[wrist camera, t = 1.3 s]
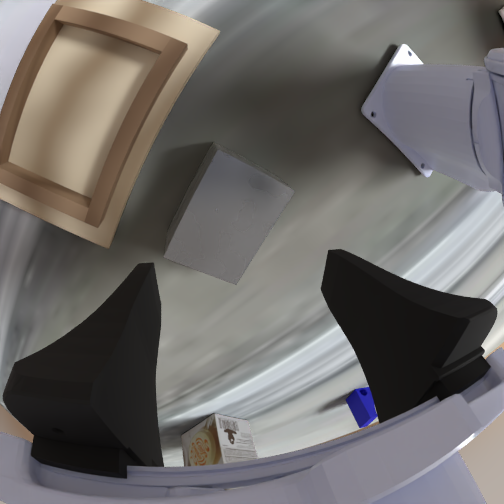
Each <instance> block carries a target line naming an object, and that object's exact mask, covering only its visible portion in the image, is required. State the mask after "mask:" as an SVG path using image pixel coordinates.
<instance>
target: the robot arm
mask: <svg viewBox="0 0 504 504" xmlns="http://www.w3.org/2000/svg"><path fill="white" fill-rule="evenodd" d="M407 52H408V53H409V56H408V54H407ZM484 63H485V66H486V67H483V66H472V65H454V64H423V63H422V62H421V61H420V59H419V58H418V57H417V56H416V55H415V54H414V53H413V51H412V50H411V49H410V48H409V47H408V46H407V45H406V44H400V45H399V46H398V48H397V50H396V51H395V53H394V55H393V56H392V58H391V60H390V61H389V63H388V65H387V66H386V68H385V70H384V71H383V73H382V75H381V76H380V78H379V80H378V81H377V83H376V84H375V86H374V88H373V89H372V91H371V93H370V94H369V96H368V98H367V99H366V101H365V102H364V104H363V106H362V108H361V111H362V114H363V115H364V116H365V117H366V118H367V119H368V120H370V121H371V122H372V123H373V124H374V125H375V126H376V127H377V128H378V129H379V130H380V131H381V132H382V133H383V134H385V135H386V136H387V137H388V138H389V139H390V140H391V141H392V142H393V143H394V144H395V145H396V146H397V147H398V148H399V150H400V151H401V152H402V153H403V154H404V155H405V156H406V157H407V158H408V159H409V160H410V161H411V162H412V163H413V164H414V166H415V167H416V168H417V169H418V170H419V171H420V172H421V173H422V175H423V176H425V177H429V176H430V175H431V173H432V171H433V170H435V171H437V172H440V173H442V174H444V175H447V176H449V177H451V178H453V179H456V180H458V181H460V182H462V183H464V184H466V185H469V186H471V187H473V188H475V189H477V190H480V191H485V192H491V191H497V192H499V193H501V194H502V201H503V205H504V48H495V49H491V50H490V51H489V53H488V54H487V56H486V57H485V58H484ZM371 112H373V114H374V115H373V117H372V116H371ZM421 164H422V166H421ZM321 291H322V293H323V296H324V298H325V301H326V303H327V305H328V307H329V309H330V311H331V312H332V314H333V316H334V317H335V319H336V321H337V322H338V324H339V326H340V327H341V329H342V330H343V332H344V334H345V335H346V337H347V339H348V340H349V342H350V344H351V345H352V347H353V349H354V351H355V353H356V355H357V357H358V360H359V362H360V364H361V367H362V369H363V372H364V374H365V377H366V380H367V382H368V385H369V388H370V391H371V394H372V397H373V400H374V404H375V407H376V411H377V415H378V419H379V424H378V425H375V426H373V427H370V428H367V429H365V430H362V431H360V432H357V433H354V434H351V435H349V436H346V437H343V438H340V439H336V440H333V441H330V442H327V443H324V444H320V445H317V446H313V447H309V448H306V449H302V450H298V451H294V452H289V453H285V454H280V455H276V456H271V457H265V458H260V459H254V460H248V461H241V462H233V463H225V464H215V465H203V466H185V467H164V463H163V457H162V451H161V444H160V436H159V428H158V417H157V403H156V365H157V356H158V347H159V338H160V330H161V301H160V296H159V290H158V285H157V279H156V274H155V268H154V263H140V264H138V265H137V266H136V267H135V268H134V270H133V271H132V272H131V273H130V274H129V275H128V277H127V278H126V279H125V280H124V281H123V282H122V284H121V285H120V286H119V287H118V288H117V289H116V290H115V291H114V293H113V294H112V295H111V296H110V297H109V298H108V299H107V300H106V301H105V302H104V303H103V304H102V305H101V306H100V307H99V308H98V309H97V310H96V311H95V312H94V313H92V314H91V315H90V316H89V317H88V318H87V319H86V320H84V321H83V322H82V323H81V324H79V325H78V326H77V327H75V328H74V329H72V330H71V331H70V332H68V333H67V334H66V335H64V336H63V337H61V338H60V339H58V340H57V341H55V342H54V343H52V344H50V345H49V346H47V347H45V348H43V349H42V350H40V351H38V352H36V353H34V354H32V355H30V356H28V357H26V358H24V359H21V360H19V361H17V362H15V364H14V366H13V368H12V371H11V374H10V376H9V379H8V382H7V384H6V387H5V390H4V393H3V401H4V403H5V405H6V407H7V409H8V410H9V411H10V412H11V414H12V415H13V416H14V417H15V418H16V419H17V420H18V421H19V422H20V423H21V424H22V425H23V426H24V427H26V428H27V429H28V430H29V431H30V432H31V433H32V434H33V435H34V438H33V443H31V442H29V441H27V440H25V439H23V438H20V437H17V436H13V435H10V434H7V433H4V432H0V500H1V501H3V502H5V503H7V504H487V503H486V501H485V499H484V497H483V495H482V494H481V492H480V490H479V488H478V486H477V484H476V482H475V480H474V479H473V477H472V475H471V473H470V471H469V470H468V468H467V466H466V464H465V462H464V461H463V459H462V457H461V456H460V454H459V452H458V450H460V449H461V448H462V447H464V446H465V445H466V444H468V443H469V442H470V441H471V440H472V439H473V438H475V437H476V436H477V435H478V434H479V433H481V432H482V431H483V430H484V429H485V428H486V427H487V426H488V425H490V424H491V423H492V422H493V421H494V420H495V419H496V418H497V417H498V416H499V415H500V414H501V413H502V412H503V411H504V350H503V349H502V348H499V349H497V350H496V351H495V352H493V353H492V354H491V355H490V356H488V357H487V358H486V360H485V359H484V357H483V356H482V355H483V354H484V352H485V351H484V349H483V348H482V347H481V345H482V343H483V342H484V340H485V338H486V337H487V335H488V333H489V332H490V330H491V328H492V327H493V325H494V323H495V320H496V318H497V308H496V307H495V306H494V305H493V304H492V303H491V302H490V301H488V300H486V299H480V298H471V297H463V296H458V295H453V294H449V293H445V292H441V291H437V290H434V289H430V288H427V287H424V286H421V285H419V284H416V283H413V282H411V281H408V280H406V279H403V278H401V277H399V276H397V275H394V274H392V273H390V272H388V271H386V270H384V269H382V268H380V267H378V266H376V265H374V264H372V263H370V262H368V261H366V260H364V259H362V258H360V257H358V256H356V255H354V254H352V253H349V252H347V251H345V250H342V249H336V250H328V254H327V260H326V265H325V270H324V276H323V281H322V286H321ZM245 486H246V487H245ZM238 487H241V488H238ZM230 488H236V489H231V490H224V489H230Z"/></svg>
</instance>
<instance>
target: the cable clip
mask: <svg viewBox="0 0 504 504" xmlns="http://www.w3.org/2000/svg"><path fill="white" fill-rule="evenodd" d="M346 402H347V404H348V406H349V408H350V410H351V412H352V414H353V416H354V418H355V420H356V422H357V424H358V426H359V428H362V427H366V426H368V425H369V424H370V423H371V422H372V421H373V420H374V419H375V418H376V417H377V414H376V411H375V406H374V400H373V397H372V394H371V391H370V388H369V387H366V388H359V389H355V390H354V391H353V392H352V393H351V395H350V396H349V397H348V398H347V399H346Z"/></svg>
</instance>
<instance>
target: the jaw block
mask: <svg viewBox="0 0 504 504" xmlns="http://www.w3.org/2000/svg"><path fill="white" fill-rule="evenodd" d="M294 192H295V191H294V190H293V189H292V188H291V187H290V186H288V185H287V184H286V183H285V182H284V181H282V180H281V179H280V178H279V177H278V176H276V175H274V174H273V173H271V172H269V171H267V170H266V169H264V168H262V167H260V166H258V165H256V164H255V163H253V162H251V161H249V160H247V159H245V158H244V157H242V156H240V155H238V154H236V153H234V152H232V151H230V150H228V149H226V148H224V147H222V146H220V145H218V144H216V143H214V142H213V143H212V145H211V147H210V148H209V150H208V152H207V154H206V156H205V157H204V159H203V161H202V163H201V165H200V167H199V169H198V170H197V172H196V174H195V176H194V178H193V180H192V182H191V184H190V186H189V188H188V190H187V192H186V194H185V196H184V198H183V200H182V202H181V204H180V206H179V208H178V210H177V212H176V214H175V216H174V218H173V220H172V222H171V224H170V227H169V229H168V231H167V237H166V244H165V250H164V258H166V259H169V260H172V261H174V262H177V263H179V264H182V265H184V266H187V267H190V268H192V269H195V270H197V271H200V272H203V273H205V274H208V275H211V276H213V277H216V278H219V279H221V280H224V281H227V282H229V283H232V284H235V285H236V284H237V283H238V281H239V280H240V278H241V277H242V275H243V273H244V272H245V270H246V269H247V267H248V265H249V264H250V262H251V261H252V259H253V257H254V256H255V254H256V253H257V251H258V250H259V248H260V246H261V245H262V243H263V242H264V240H265V238H266V237H267V235H268V234H269V232H270V230H271V229H272V227H273V226H274V224H275V222H276V221H277V219H278V218H279V216H280V214H281V213H282V211H283V210H284V208H285V206H286V205H287V203H288V202H289V200H290V198H291V197H292V195H293V194H294Z"/></svg>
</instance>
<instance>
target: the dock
mask: <svg viewBox="0 0 504 504" xmlns="http://www.w3.org/2000/svg"><path fill="white" fill-rule="evenodd" d="M219 33H220V31H219V30H216V29H214V28H212V27H210V26H208V25H206V24H203V23H201V22H199V21H197V20H194V19H192V18H189V17H187V16H185V15H182V14H180V13H177V12H174V11H172V10H169V9H166V8H163V7H161V6H158V5H155V4H152V3H148V2H145V1H142V0H57V1H56V2H55V4H52V6H51V7H50V9H49V10H48V12H47V13H46V15H45V17H44V18H43V20H42V22H41V23H40V25H39V27H38V28H37V30H36V32H35V34H34V36H33V37H32V39H31V41H30V43H29V45H28V47H27V49H26V51H25V53H24V55H23V57H22V59H21V62H20V64H19V66H18V68H17V71H16V73H15V75H14V78H13V80H12V83H11V85H10V88H9V90H8V93H7V96H6V99H5V102H4V104H3V107H2V111H1V114H0V199H2V200H4V201H6V202H8V203H10V204H12V205H14V206H16V207H18V208H20V209H22V210H24V211H26V212H28V213H30V214H32V215H34V216H36V217H38V218H41V219H43V220H45V221H47V222H49V223H51V224H53V225H55V226H58V227H60V228H62V229H64V230H66V231H69V232H71V233H73V234H75V235H78V236H80V237H82V238H84V239H87V240H89V241H91V242H93V243H96V244H98V245H100V246H103V247H105V248H107V249H109V247H110V245H111V243H112V241H113V238H114V235H115V232H116V230H117V227H118V224H119V222H120V219H121V216H122V214H123V211H124V208H125V206H126V203H127V201H128V198H129V196H130V194H131V191H132V189H133V186H134V184H135V182H136V179H137V177H138V175H139V173H140V170H141V168H142V166H143V164H144V162H145V160H146V157H147V155H148V153H149V151H150V149H151V147H152V145H153V143H154V141H155V139H156V137H157V135H158V133H159V131H160V129H161V127H162V126H163V124H164V122H165V120H166V118H167V116H168V114H169V113H170V111H171V109H172V107H173V105H174V104H175V102H176V100H177V98H178V97H179V95H180V93H181V92H182V90H183V88H184V87H185V85H186V83H187V82H188V80H189V78H190V77H191V75H192V74H193V72H194V71H195V69H196V67H197V66H198V64H199V63H200V61H201V60H202V58H203V57H204V55H205V54H206V52H207V51H208V50H209V48H210V47H211V45H212V44H213V42H214V41H215V40H216V38H217V37H218V35H219Z"/></svg>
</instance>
